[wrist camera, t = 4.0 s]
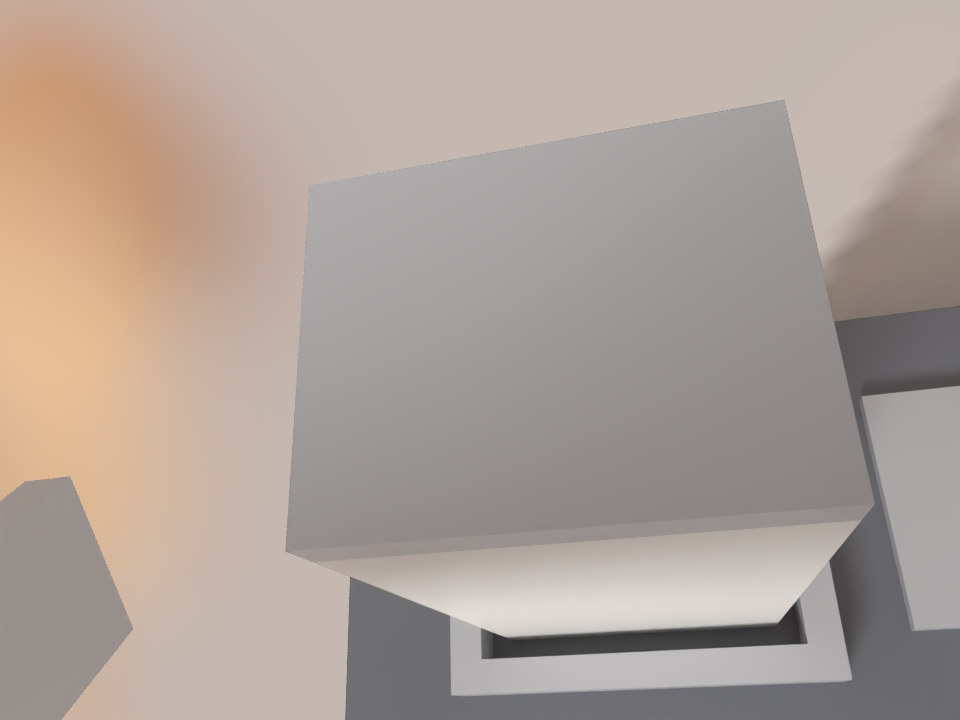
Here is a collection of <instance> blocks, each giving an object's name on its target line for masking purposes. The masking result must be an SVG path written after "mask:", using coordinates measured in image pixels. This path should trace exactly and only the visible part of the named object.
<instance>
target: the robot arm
mask: <svg viewBox="0 0 960 720" xmlns="http://www.w3.org/2000/svg"><path fill="white" fill-rule="evenodd" d="M132 630H133V627H132V625H131V622H130V620H129V617H128V615H127V612H126V610H125V608H124V605H123V603H122V600H121V598H120V596H119V593H118V591H117V588H116V586H115V584H114V581H113V579H112V576H111V574H110V571H109V569H108V567H107V564H106V562H105V560H104V557H103V555H102V552H101V550H100V547H99V545H98V543H97V540H96V538H95V535H94V533H93V531H92V528H91V526H90V524H89V521H88V519H87V516H86V514H85V511H84V509H83V506H82V504H81V502H80V499H79V497H78V495H77V492H76V490H75V487H74V485H73V482H72V480H71V478H70V477H61V478H53V479H44V480H35V481H28V482H24V483H23V484H22V485H20V486H19V487H18V488H16V489H15V490H14V491H13V492H11V493H10V494H9V495H7V496H6V497H5V498H4V499H2V500H1V501H0V720H61V719H62V718H63V717H64V716H65V714H66V713H67V712H68V710H69V709H70V708H71V707H72V705H73V704H74V703H75V702H76V700H77V699H78V698H79V697H80V695H81V694H82V693H83V692H84V690H85V689H86V688H87V686H88V685H89V684H90V683H91V681H92V680H93V679H94V677H95V676H96V675H97V674H98V673H99V671H100V670H101V669H102V667H103V666H104V665H105V664H106V662H107V661H108V660H109V658H110V657H111V656H112V655H113V654H114V652H115V651H116V650H117V648H118V647H119V646H120V645H121V643H122V642H123V641H124V639H125V638H126V637H127V636H128V635H129V633H130V632H131V631H132Z"/></svg>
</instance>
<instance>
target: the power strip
mask: <svg viewBox="0 0 960 720" xmlns="http://www.w3.org/2000/svg"><path fill="white" fill-rule="evenodd" d="M834 324H835V328H836V333H837V337H838V342H839V346H840V351H841V355H842V360H843V364H844V369H845V373H846V377H847V382H848V386H849V391H850V395H851V400H852V404H853V409H854V413H855V418H856V422H857V427H858V431H859V435H860V440H861V444H862V449H863V453H864V458H865V462H866V467H867V471H868V476H869V480H870V485H871V489H872V493H873V498H874V502H875V505H874V506H873V507H872V508H871V509H870V511H869V512H868V513H867V514H866V516H865V517H864V518H863V519H862V521H861V522H860V523H859V524H858V525H857V527H856V528H855V529H854V530H853V532H852V533H851V534H850V535H849V536H848V538H847V539H846V540H845V541H844V543H843V544H842V545H841V546H840V548H839V549H838V550H837V551H836V552H835V554H834V555H833V556H832V557H831V559H830V560H829V561H828V562H827V563H826V565H825V566H824V567H823V568H822V570H821V571H820V572H819V573H818V575H817V576H816V577H815V578H814V579H813V581H812V582H811V583H810V584H809V586H808V587H807V588H806V589H805V591H804V592H803V593H802V594H801V595H800V597H799V598H798V599H797V600H796V602H795V603H794V604H793V605H792V606H791V608H790V609H789V610H788V611H787V613H786V614H785V615H784V616H783V618H782V619H781V620H780V621H779V622H778V624H777V625H776V626H773V627H754V628H735V629H716V630H697V631H678V632H658V633H639V634H620V635H601V636H582V637H563V638H544V639H525V640H511V639H508V638H506V637H503V636H501V635H498V634H496V633H493V632H490V631H488V630H485V629H483V628H480V627H478V626H475V625H473V624H470V623H467V622H465V621H462V620H460V619H457V618H455V617H452V616H450V615H447V614H444V613H442V612H439V611H437V610H434V609H432V608H429V607H426V606H424V605H421V604H419V603H416V602H414V601H411V600H409V599H406V598H403V597H401V596H398V595H396V594H393V593H391V592H388V591H386V590H383V589H380V588H378V587H375V586H373V585H370V584H368V583H365V582H363V581H360V580H357V579H355V578H352V577H350V597H349V626H348V655H347V685H346V717H345V720H960V306H957V307H949V308H941V309H933V310H925V311H917V312H909V313H901V314H893V315H885V316H877V317H869V318H861V319H853V320H845V321H837V322H834Z"/></svg>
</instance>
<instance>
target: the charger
mask: <svg viewBox="0 0 960 720" xmlns="http://www.w3.org/2000/svg"><path fill="white" fill-rule="evenodd" d="M874 505H875V502H874V498H873V493H872V489H871V485H870V480H869V476H868V471H867V467H866V462H865V458H864V453H863V449H862V444H861V440H860V435H859V431H858V427H857V422H856V418H855V413H854V409H853V404H852V400H851V395H850V391H849V386H848V382H847V377H846V373H845V369H844V364H843V360H842V355H841V351H840V346H839V342H838V337H837V333H836V328H835V324H834V319H833V315H832V311H831V306H830V302H829V297H828V293H827V288H826V284H825V279H824V275H823V270H822V266H821V261H820V257H819V253H818V248H817V244H816V239H815V235H814V230H813V226H812V222H811V217H810V212H809V208H808V204H807V199H806V195H805V190H804V186H803V181H802V177H801V172H800V168H799V164H798V159H797V155H796V150H795V145H794V141H793V137H792V132H791V128H790V123H789V119H788V114H787V110H786V105H785V101H784V100H781V101H776V102H770V103H765V104H760V105H754V106H749V107H743V108H737V109H732V110H727V111H721V112H715V113H709V114H704V115H698V116H693V117H688V118H682V119H676V120H670V121H665V122H660V123H654V124H648V125H643V126H637V127H632V128H626V129H620V130H616V131H609V132H604V133H599V134H593V135H588V136H582V137H576V138H571V139H565V140H560V141H554V142H549V143H543V144H538V145H532V146H526V147H521V148H516V149H510V150H504V151H499V152H493V153H487V154H482V155H477V156H471V157H466V158H459V159H454V160H449V161H443V162H438V163H432V164H426V165H421V166H416V167H410V168H404V169H398V170H393V171H387V172H382V173H376V174H371V175H365V176H360V177H354V178H349V179H343V180H337V181H332V182H326V183H321V184H315V185H310V186H309V199H308V214H307V231H306V246H305V260H304V276H303V291H302V306H301V322H300V337H299V353H298V369H297V383H296V399H295V414H294V429H293V445H292V460H291V475H290V490H289V505H288V521H287V537H286V552H288V553H291V554H294V555H296V556H299V557H301V558H304V559H306V560H309V561H311V562H314V563H317V564H319V565H322V566H324V567H327V568H329V569H332V570H335V571H337V572H340V573H342V574H345V575H347V576H350V577H352V578H355V579H357V580H360V581H363V582H365V583H368V584H370V585H373V586H375V587H378V588H380V589H383V590H386V591H388V592H391V593H393V594H396V595H398V596H401V597H403V598H406V599H409V600H411V601H414V602H416V603H419V604H421V605H424V606H426V607H429V608H432V609H434V610H437V611H439V612H442V613H444V614H447V615H450V616H452V617H455V618H457V619H460V620H462V621H465V622H467V623H470V624H473V625H475V626H478V627H480V628H483V629H485V630H488V631H490V632H493V633H496V634H498V635H501V636H503V637H506V638H508V639H511V640H525V639H544V638H563V637H582V636H601V635H620V634H639V633H658V632H678V631H697V630H716V629H735V628H754V627H773V626H776V625H777V624H778V622H779V621H780V620H781V619H782V618H783V616H784V615H785V614H786V613H787V611H788V610H789V609H790V608H791V606H792V605H793V604H794V603H795V602H796V600H797V599H798V598H799V597H800V595H801V594H802V593H803V592H804V591H805V589H806V588H807V587H808V586H809V584H810V583H811V582H812V581H813V579H814V578H815V577H816V576H817V575H818V573H819V572H820V571H821V570H822V568H823V567H824V566H825V565H826V563H827V562H828V561H829V560H830V559H831V557H832V556H833V555H834V554H835V552H836V551H837V550H838V549H839V548H840V546H841V545H842V544H843V543H844V541H845V540H846V539H847V538H848V536H849V535H850V534H851V533H852V532H853V530H854V529H855V528H856V527H857V525H858V524H859V523H860V522H861V521H862V519H863V518H864V517H865V516H866V514H867V513H868V512H869V511H870V509H871V508H872V507H873V506H874Z"/></svg>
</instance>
